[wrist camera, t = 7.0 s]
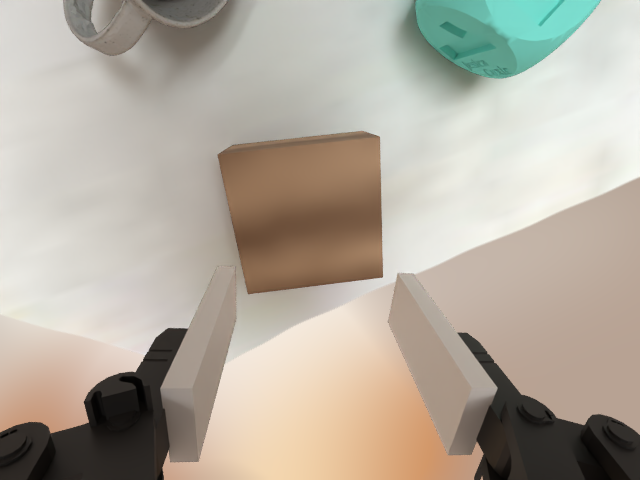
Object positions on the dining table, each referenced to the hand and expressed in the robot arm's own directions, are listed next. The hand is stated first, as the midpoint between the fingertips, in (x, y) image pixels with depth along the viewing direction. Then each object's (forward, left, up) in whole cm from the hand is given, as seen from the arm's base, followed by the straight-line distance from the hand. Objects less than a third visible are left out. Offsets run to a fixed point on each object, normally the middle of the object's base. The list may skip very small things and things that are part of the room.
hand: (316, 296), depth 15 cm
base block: (0, 0, -16) cm, 16 cm away
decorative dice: (-16, +12, -16) cm, 26 cm away
